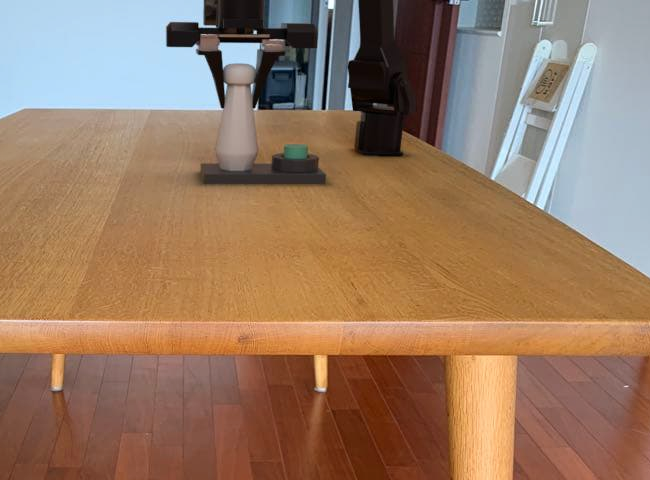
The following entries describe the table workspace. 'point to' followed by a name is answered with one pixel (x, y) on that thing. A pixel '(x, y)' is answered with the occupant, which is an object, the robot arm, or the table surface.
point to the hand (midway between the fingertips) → (237, 108)
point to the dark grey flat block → (268, 172)
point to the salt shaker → (237, 120)
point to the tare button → (295, 151)
